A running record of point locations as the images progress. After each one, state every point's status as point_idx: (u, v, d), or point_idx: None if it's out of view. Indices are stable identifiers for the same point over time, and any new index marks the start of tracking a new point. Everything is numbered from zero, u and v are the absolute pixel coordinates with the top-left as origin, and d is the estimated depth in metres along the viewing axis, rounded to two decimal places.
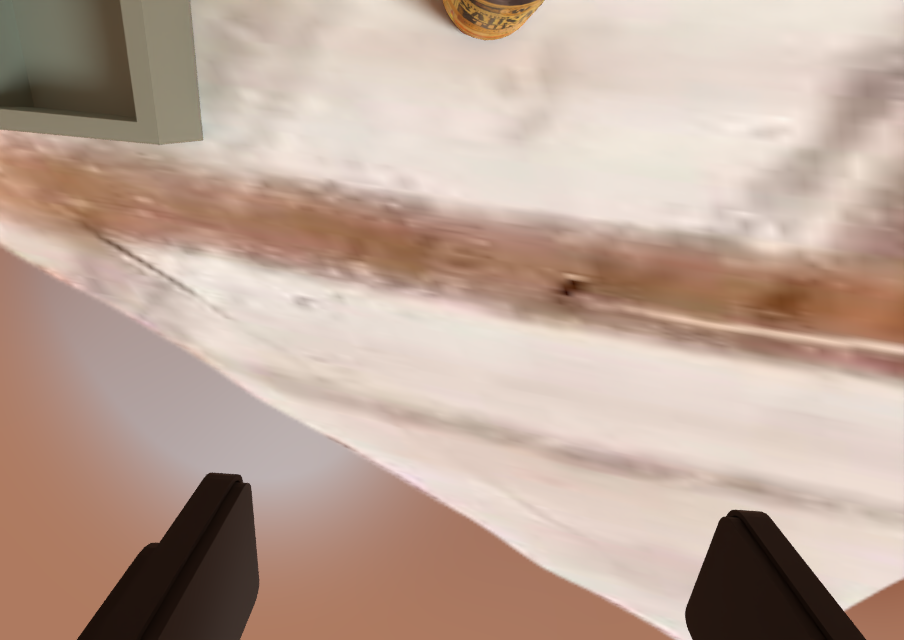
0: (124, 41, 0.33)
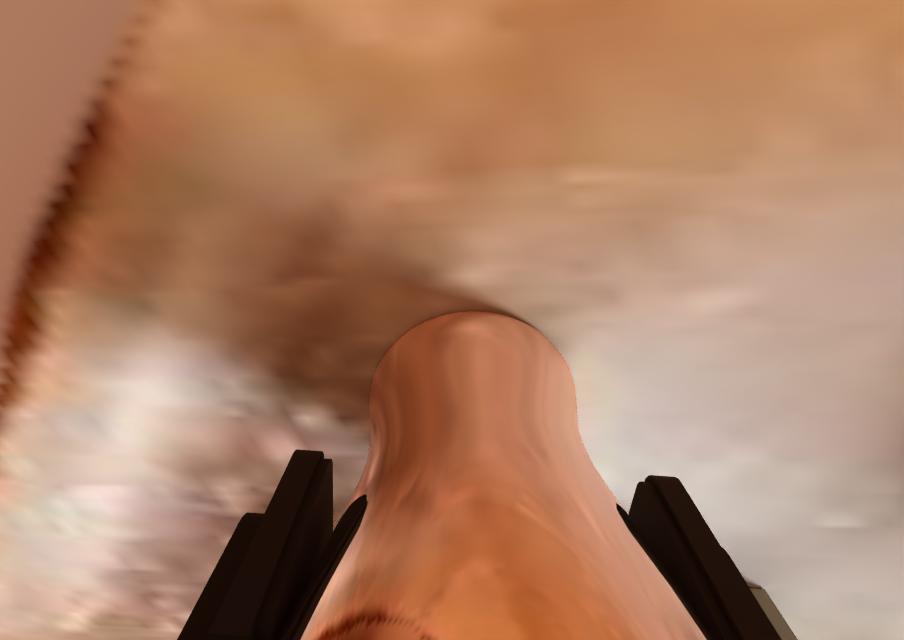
0: None
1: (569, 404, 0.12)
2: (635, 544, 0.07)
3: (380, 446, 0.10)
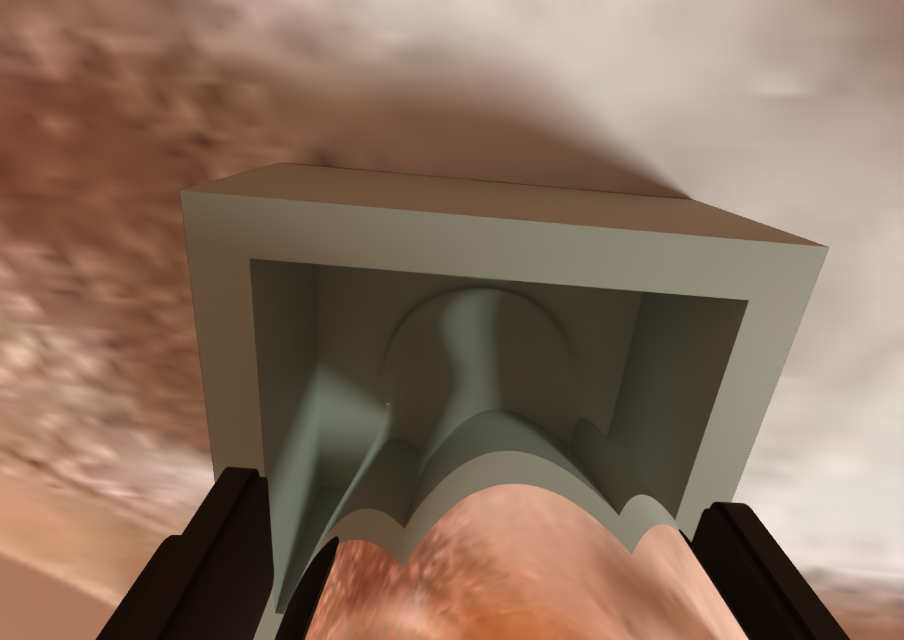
0: None
1: (566, 368, 0.13)
2: (619, 459, 0.08)
3: (400, 396, 0.12)
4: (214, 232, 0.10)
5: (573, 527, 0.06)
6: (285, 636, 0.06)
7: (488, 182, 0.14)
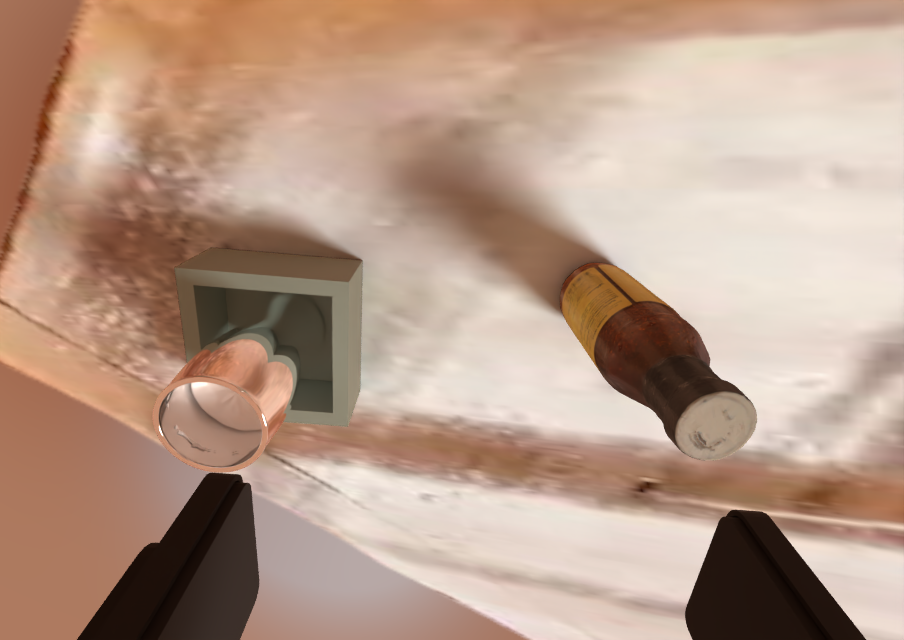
0: None
1: (306, 320, 0.40)
2: (280, 335, 0.34)
3: None
4: (183, 278, 0.36)
5: (244, 337, 0.32)
6: None
7: (285, 254, 0.41)
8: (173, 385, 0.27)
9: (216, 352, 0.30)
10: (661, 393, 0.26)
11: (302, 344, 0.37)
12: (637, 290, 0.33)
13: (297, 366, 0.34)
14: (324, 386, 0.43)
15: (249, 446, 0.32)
